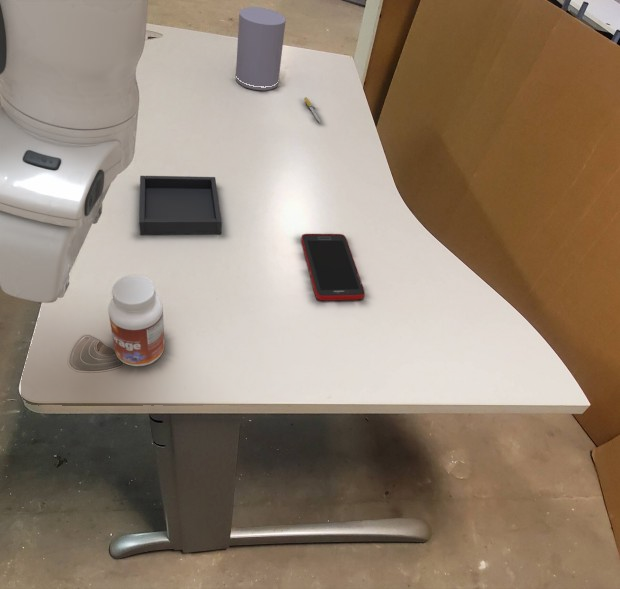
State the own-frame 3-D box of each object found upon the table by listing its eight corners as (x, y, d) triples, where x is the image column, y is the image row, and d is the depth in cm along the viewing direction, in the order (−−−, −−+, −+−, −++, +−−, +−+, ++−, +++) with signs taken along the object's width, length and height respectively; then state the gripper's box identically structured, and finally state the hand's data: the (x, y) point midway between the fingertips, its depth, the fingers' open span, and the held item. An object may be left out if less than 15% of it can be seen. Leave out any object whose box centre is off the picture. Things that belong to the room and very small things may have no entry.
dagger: (324, 122, 117) (317, 120, 116) (323, 125, 118) (315, 124, 117) (309, 97, 123) (302, 95, 122) (308, 100, 124) (301, 99, 123)
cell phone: (343, 237, 90) (344, 233, 89) (365, 300, 80) (366, 295, 79) (299, 237, 88) (300, 233, 87) (316, 301, 78) (317, 297, 77)
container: (277, 75, 131) (285, 11, 121) (278, 94, 124) (286, 27, 114) (236, 69, 130) (240, 4, 119) (234, 88, 123) (238, 20, 112)
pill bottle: (104, 352, 66) (92, 291, 58) (138, 323, 70) (131, 262, 62) (142, 376, 65) (135, 317, 57) (175, 345, 69) (172, 285, 61)
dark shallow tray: (140, 235, 82) (139, 222, 80) (141, 188, 91) (140, 175, 89) (221, 234, 86) (221, 221, 84) (214, 189, 94) (215, 176, 92)
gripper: (74, 46, 44) (75, 173, 54) (-41, 202, 31) (-11, 332, 41) (150, 71, 46) (137, 190, 56) (71, 230, 32) (73, 349, 42)
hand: (74, 251), depth 48 cm, fingers open, 8 cm apart
